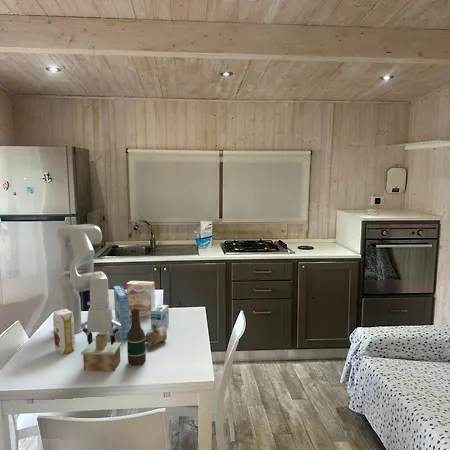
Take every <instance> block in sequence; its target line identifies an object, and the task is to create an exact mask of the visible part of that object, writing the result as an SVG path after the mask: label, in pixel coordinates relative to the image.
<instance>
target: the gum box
mask: <svg viewBox="0 0 450 450" xmlns="http://www.w3.org/2000/svg"><path fill="white" fill-rule="evenodd" d="M113 298H114V299H113V300H114V301H113V302H114V316H115V318H114V319H115V320H114V321H115V322H117V323H119V324H121V327H120V329H119V330H118V332H117V334H118V336H119V338H120V340H121V341H122V340H123V341H124V340H127V334H128V332H129V330H130V328H131V318H130V317H131V316H130V314H129V295H128V294H127V290H126V289H125V288H124V287H123V285H115V286H113ZM116 328H117V327H116V326H115V329H116Z"/></svg>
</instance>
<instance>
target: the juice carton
mask: <svg viewBox="0 0 450 450" xmlns="http://www.w3.org/2000/svg"><path fill="white" fill-rule="evenodd" d="M52 317H53V318H52V321H53V322H52V325H53V338H54V347H55V350H56V352H58V353H59V354H61V355H65V354H68V353H71V352H74V351H75V349H76V341H75V339H76V337H75V334H74V317H73V312H71V311H69V310H68V309H63V310H62V309H59V310H55V311H53V316H52Z"/></svg>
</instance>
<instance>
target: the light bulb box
mask: <svg viewBox="0 0 450 450" xmlns="http://www.w3.org/2000/svg"><path fill="white" fill-rule="evenodd" d="M169 310H170V308H169V305H168V304H155V307H154V308H153V309H152V310H151V317H150V328H151V329H150V330H152V329H153V327H157V328H160V327H163V326H166V327H168V326H169V324H170V316H169V315H170V313H169Z"/></svg>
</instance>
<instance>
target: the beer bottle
mask: <svg viewBox="0 0 450 450" xmlns="http://www.w3.org/2000/svg"><path fill="white" fill-rule="evenodd" d="M139 312H140V311H139V309H133V310H131V313H132V315H131V316H130V317H131V318H130V330H129V332H128V334H127V339H126V347H127V348H126V349H127V363H128V364H129V365H130V366H132V367H138V366H142V365H144V363H146V361H147V357H146V356H147V353H146V351H147V350H146V343H145V336H146V334H145V331H144V329H143V328H142V327H141V320H140V319H141V318H140V316H139Z"/></svg>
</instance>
